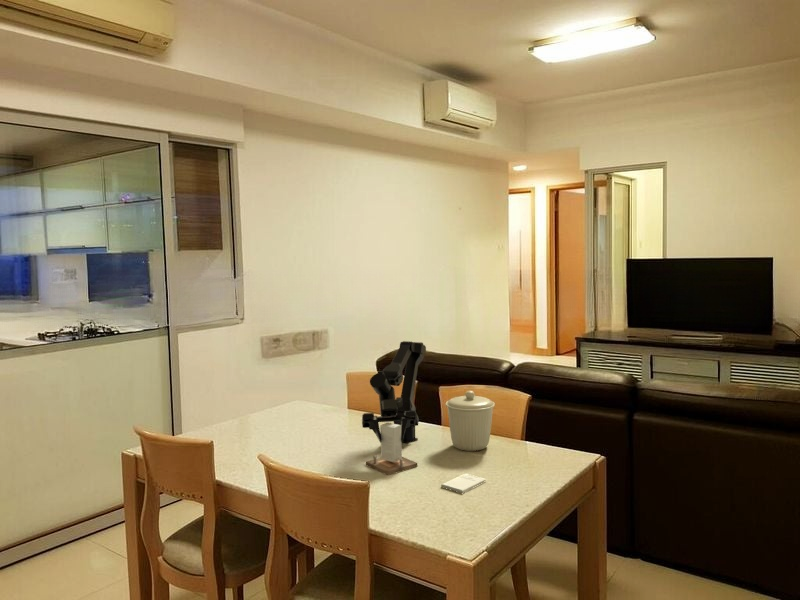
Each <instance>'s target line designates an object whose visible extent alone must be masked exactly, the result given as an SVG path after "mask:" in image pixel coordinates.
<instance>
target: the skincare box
mask: <svg viewBox="0 0 800 600" xmlns="http://www.w3.org/2000/svg"><path fill="white" fill-rule="evenodd" d="M379 429H380V434H381V441H382V442H381V443H380V458H381V459H382V460H386V461H390V462H397V461H399V460H400V459H402V457H403V456H402V455H403V454H402V453H403V452H402V450H403V449H402V447H403V446H402V442H401V425H398V424H394V423H392V422H384V424H379Z"/></svg>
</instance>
